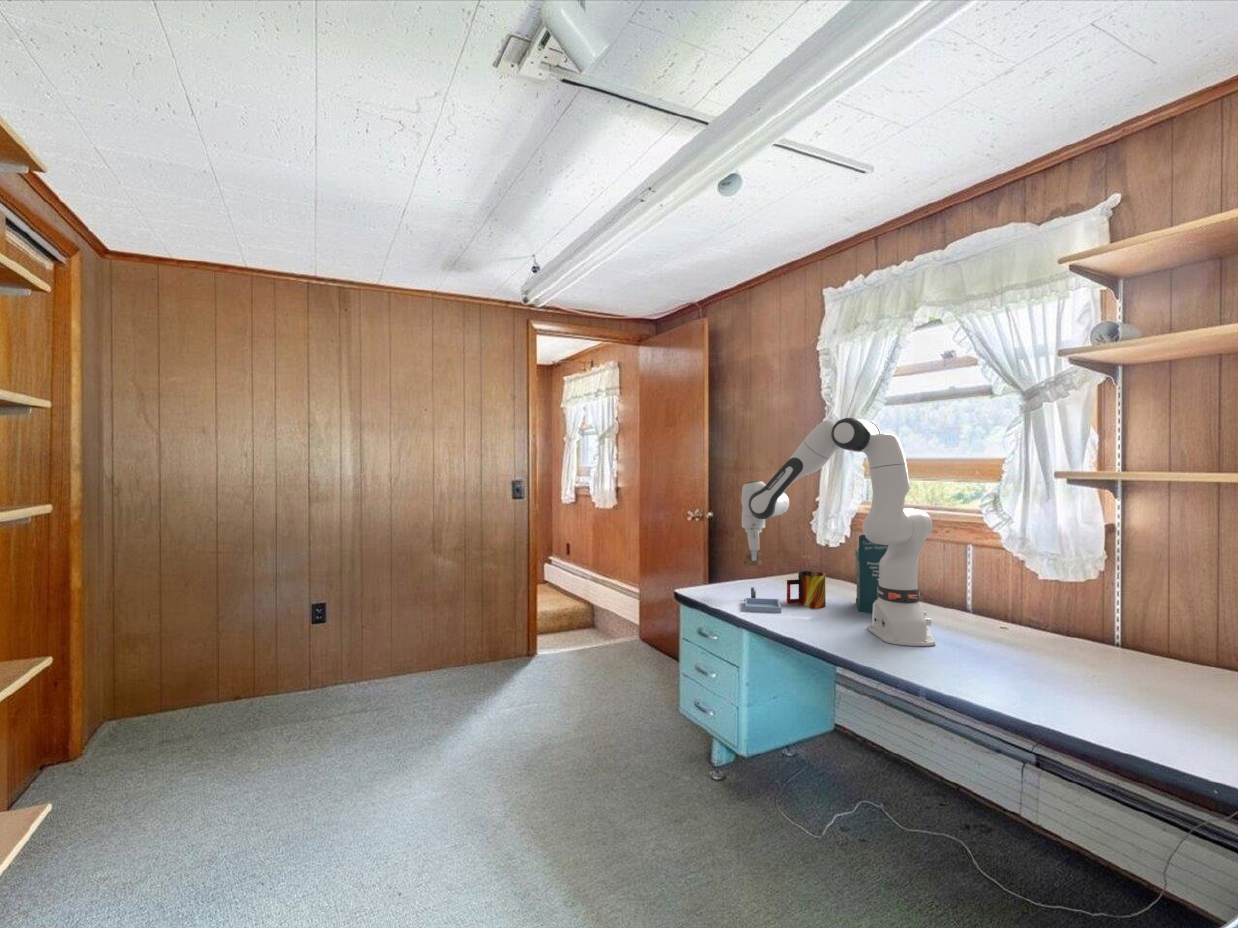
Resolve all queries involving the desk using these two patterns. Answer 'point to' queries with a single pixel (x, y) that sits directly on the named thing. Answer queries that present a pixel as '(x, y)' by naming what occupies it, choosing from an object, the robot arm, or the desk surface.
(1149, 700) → the desk surface
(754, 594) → the grey peg stand
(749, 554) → the ring
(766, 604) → the tray
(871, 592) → the donation box
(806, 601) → the mug
